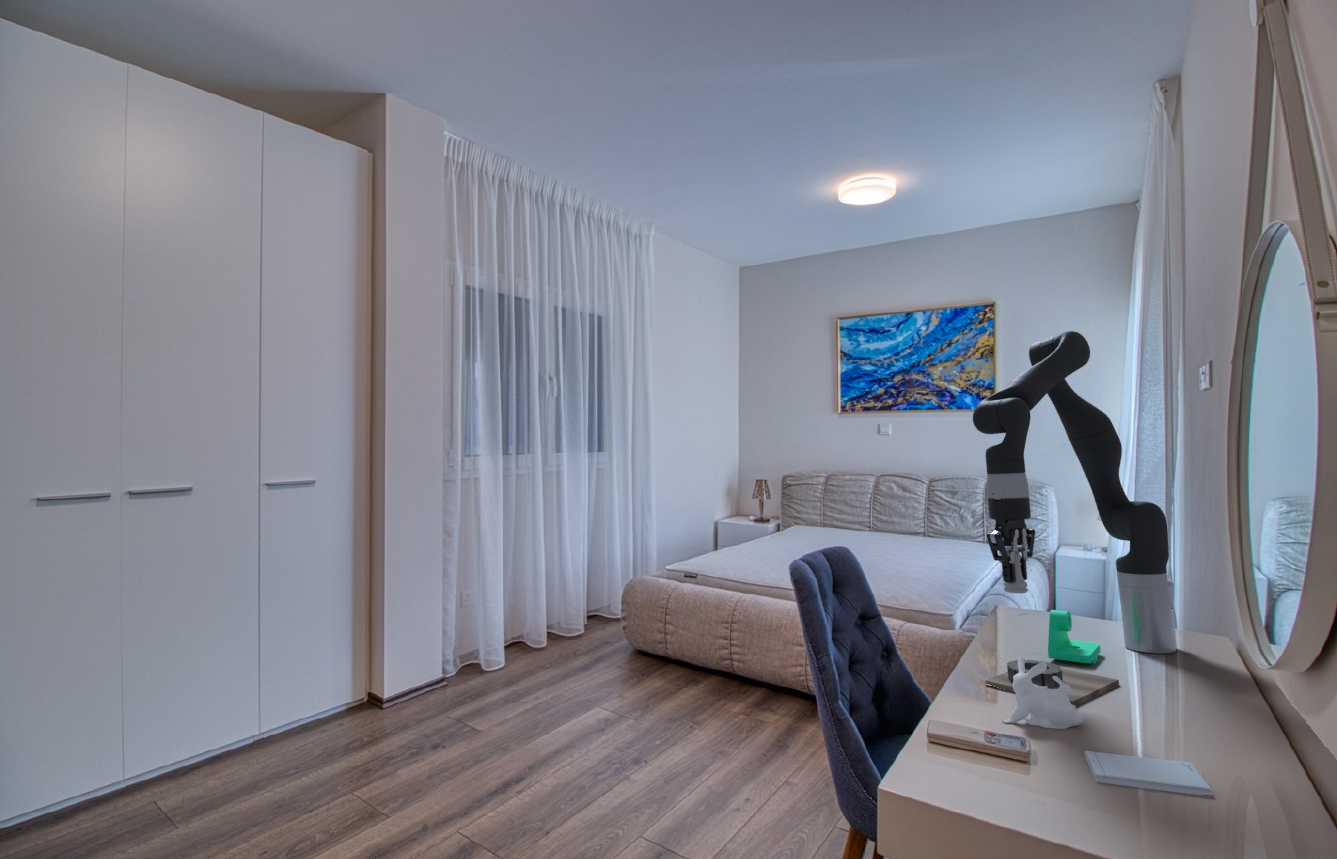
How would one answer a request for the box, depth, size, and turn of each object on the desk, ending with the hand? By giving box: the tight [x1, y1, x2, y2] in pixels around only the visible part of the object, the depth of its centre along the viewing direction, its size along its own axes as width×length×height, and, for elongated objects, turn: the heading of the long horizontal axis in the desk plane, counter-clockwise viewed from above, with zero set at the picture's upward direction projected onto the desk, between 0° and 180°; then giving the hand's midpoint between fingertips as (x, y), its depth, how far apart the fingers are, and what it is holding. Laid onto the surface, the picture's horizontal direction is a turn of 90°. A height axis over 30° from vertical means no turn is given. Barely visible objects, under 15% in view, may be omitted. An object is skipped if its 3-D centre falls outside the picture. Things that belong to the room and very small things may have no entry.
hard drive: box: [1084, 750, 1213, 796], centre depth 85 cm, size 2×8×12 cm
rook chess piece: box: [1003, 550, 1029, 594], centre depth 127 cm, size 4×4×8 cm
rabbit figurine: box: [1002, 657, 1084, 730], centre depth 105 cm, size 12×8×10 cm, turn 61°
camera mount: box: [1047, 609, 1101, 665], centre depth 138 cm, size 12×8×10 cm, turn 136°
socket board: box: [984, 659, 1120, 707], centre depth 121 cm, size 18×16×4 cm
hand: (1015, 580), depth 127 cm, fingers closed on rook chess piece, 3 cm apart
